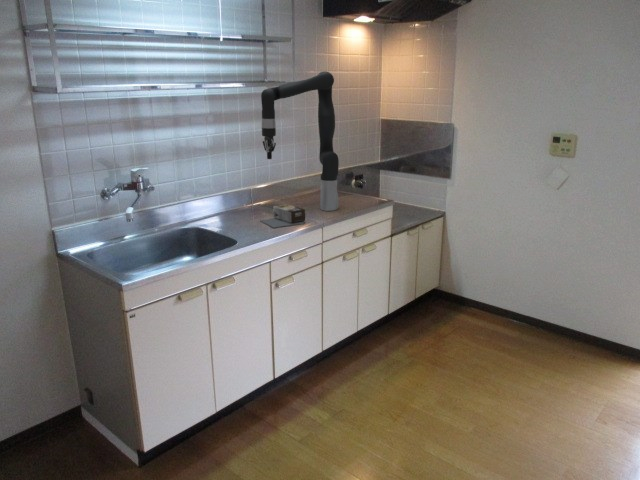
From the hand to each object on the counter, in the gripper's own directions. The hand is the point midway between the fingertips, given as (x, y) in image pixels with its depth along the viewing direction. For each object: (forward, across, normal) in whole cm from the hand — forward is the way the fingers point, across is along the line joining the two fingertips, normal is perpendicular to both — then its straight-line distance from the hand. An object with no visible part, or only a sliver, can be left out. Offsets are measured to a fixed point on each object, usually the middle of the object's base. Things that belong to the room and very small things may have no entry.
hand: (269, 159), depth 290 cm
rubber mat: (+29, -28, +6) cm, 41 cm away
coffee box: (+25, -18, +3) cm, 31 cm away
